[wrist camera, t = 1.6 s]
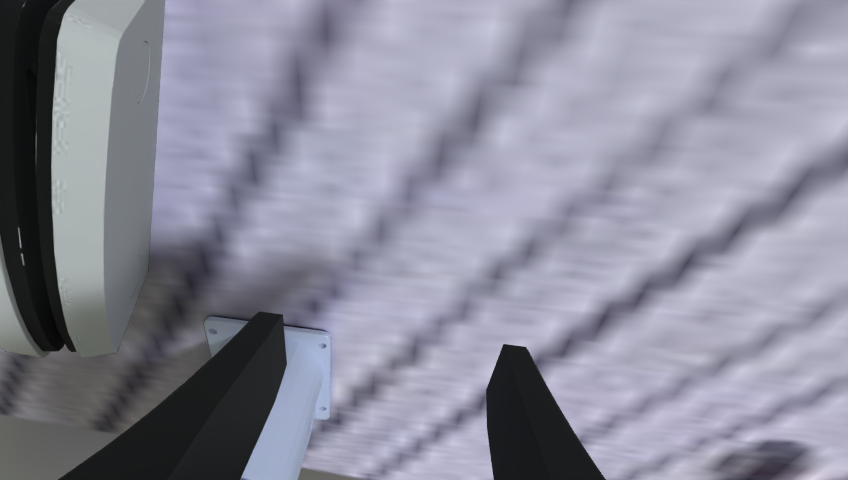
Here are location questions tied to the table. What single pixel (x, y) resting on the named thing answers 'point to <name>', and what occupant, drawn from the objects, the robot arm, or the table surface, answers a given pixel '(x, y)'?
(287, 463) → the robot arm
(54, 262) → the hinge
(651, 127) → the table surface
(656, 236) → the table surface
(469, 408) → the table surface
